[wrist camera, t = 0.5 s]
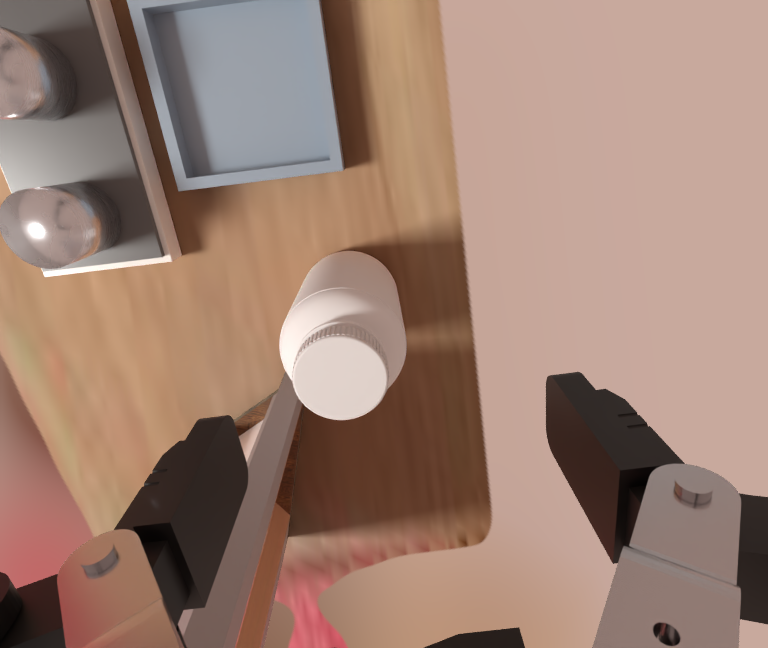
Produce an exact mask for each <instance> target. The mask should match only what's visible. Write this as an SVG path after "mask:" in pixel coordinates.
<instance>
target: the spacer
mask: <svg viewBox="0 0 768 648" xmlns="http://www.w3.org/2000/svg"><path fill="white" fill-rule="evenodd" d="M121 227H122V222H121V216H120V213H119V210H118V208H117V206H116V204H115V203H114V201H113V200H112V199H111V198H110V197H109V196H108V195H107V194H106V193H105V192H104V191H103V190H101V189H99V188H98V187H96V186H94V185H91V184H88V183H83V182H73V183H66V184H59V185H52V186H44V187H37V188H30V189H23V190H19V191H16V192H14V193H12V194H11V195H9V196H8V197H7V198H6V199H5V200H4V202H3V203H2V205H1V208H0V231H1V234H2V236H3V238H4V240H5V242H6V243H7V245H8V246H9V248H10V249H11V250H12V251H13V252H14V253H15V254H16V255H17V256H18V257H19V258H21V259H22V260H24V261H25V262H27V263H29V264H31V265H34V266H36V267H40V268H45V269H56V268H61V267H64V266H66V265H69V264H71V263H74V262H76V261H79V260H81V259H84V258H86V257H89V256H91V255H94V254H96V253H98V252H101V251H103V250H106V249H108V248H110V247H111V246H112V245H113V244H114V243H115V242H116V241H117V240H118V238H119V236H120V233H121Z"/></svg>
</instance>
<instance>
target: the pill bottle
mask: <svg viewBox="0 0 768 648" xmlns="http://www.w3.org/2000/svg"><path fill="white" fill-rule="evenodd" d="M406 351H407V341H406V334H405V328H404V323H403V318H402V312H401V307H400V302H399V296H398V291H397V287H396V284H395V281H394V279H393V277H392V275H391V274H390V272H389V271H388V269H387V268H386V267H385V266H384V265H383V264H382V263H381V262H380V261H378V260H377V259H375V258H374V257H372V256H370V255H368V254H365V253H362V252H357V251H341V252H336V253H333V254H331V255H328V256H326V257H325V258H323V259H321V260H320V261H319V262H318V263H316V264H315V265H314V266H313V267H312V269H311V270H310V271H309V273H308V274H307V276H306V278H305V280H304V282H303V284H302V286H301V288H300V290H299V292H298V294H297V296H296V298H295V300H294V303H293V305H292V307H291V309H290V311H289V313H288V315H287V317H286V319H285V321H284V324H283V327H282V330H281V334H280V355H281V359H282V362H283V365H284V368H285V370H286V372H287V374H288V376H289V377H290V379H291V380H292V383H293V387H294V388H295V389H294V390H295V392H296V395H297V396H298V398H299V400H301V402H302V403H303V404H304V405H305V406H306V407H307V408H308V409H309V410H311V411H312V412H314V413H315V414H317V415H319V416H322V417H325V418H328V419H333V420H349V419H354V418H358V417H360V416H363V415H365V414H367V413H368V412H370V411H371V410H373V409H374V408H375V407H376V406H377V405H378V404H379V403H380V402H381V400H382V399H383V397H384V396H385V393H386V392H387V389H388V388H389V387H390V386H391V385H392V384H393V382H394V381H395V380H396V378H397V377H398V375H399V373H400V372H401V370H402V367H403V365H404V362H405V358H406Z"/></svg>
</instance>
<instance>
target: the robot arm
mask: <svg viewBox="0 0 768 648" xmlns="http://www.w3.org/2000/svg"><path fill="white" fill-rule="evenodd" d="M546 432H547V438H548V443H549V446H550V449H551V451H552V454H553V455H554V458H555V459H556V461H557V463H558V465H559V467H560V468H561V470H562V472H563V474H564V476H565V478H566V479H567V481H568V483H569V485H570V487H571V488H572V490H573V492H574V494H575V496H576V497H577V499H578V501H579V503H580V505H581V507H582V508H583V510H584V512H585V514H586V515H587V517H588V519H589V521H590V523H591V524H592V526H593V528H594V530H595V532H596V534H597V535H598V537H599V539H600V541H601V543H602V544H603V546H604V548H605V550H606V552H607V554H608V556H609V557H610V559H611V561H612V563H613V564H614V563H618V565H617V568H616V572H615V575H614V579H613V581H612V585H611V588H610V591H609V595H608V598H607V601H606V605H605V608H604V611H603V615H602V618H601V621H600V624H599V628H598V631H597V635H596V638H595V641H594V644H593V647H592V648H738V646H739V625H740V619H743V620H748V621H753V622H759V623H764V624H768V497H761V496H752V495H745V494H740V493H738V491H737V490H736V488H735V487H734V486H733V485H732V484H731V483H730V482H728V481H727V480H725V479H724V478H723V477H721V476H720V475H718V474H716V473H714V472H712V471H710V470H707V469H704V468H701V467H698V466H693V465H688V464H685V463H684V462H683V461H682V460H681V459H680V458H679V457H678V456H677V455H676V454H675V453H674V452H673V451H672V450H671V448H670V447H669V446H668V445H667V444H666V443H665V442H664V441H663V440H662V439H661V438H660V437H659V436H658V434H657V433H656V432H655V431H654V430H653V429H652V428H651V427H650V426H649V427H648V425H647V423H646V422H645V421H644V419H643V418H642V417H641V416H640V415H637V412H636V411H635V410H634V409H633V408H632V407H631V406H630V405H629V403H628V402H627V401H626V400H625V399H623V398H621V397H619V396H618V395H616V394H614V393H612V392H610V391H608V390H606V389H601V390H595V388H594V387H593V386H592V385H591V384H590V383H589V381H588V380H587V379H586V378H585V377H584V376H583V374H582V373H580V372H575V373H567V374H559V375H551V376H548V377H547V381H546ZM247 486H248V466H247V462H246V459H245V456H244V452H243V449H242V446H241V442H240V439H239V436H238V433H237V429H236V426H235V423H234V420H233V419H232V417H231V416H229V415H227V416H219V417H211V418H203V419H199V420H198V421H197V422H196V423H195V425H194V427H193V428H192V430H191V432H190V433H189V435H188V437H187V438H186V440H184V441H179V442H178V443H176V444H175V445H174V446H173V447H172V448H171V449H169V450H168V451H167V452H166V453H165V454H164V455H162V457H161V458H160V460H159V461H158V463H157V465H156V466H155V468H154V469H153V473H152V474H150V475H149V477H148V478H147V480H146V481H145V483H144V487H142V488H141V489H140V491H139V492H138V494H137V495H136V497H135V498H134V500H133V501H132V503H131V504H130V506H129V508H128V509H127V511H126V512H125V514H124V515H123V517H122V518H121V520H120V521H119V523H118V524H117V526H116V527H115V529H114V530H113V531H109V532H106V533H103V534H101V535H99V536H97V537H94V538H93V539H91V540H89V541H88V542H86V543H85V544H83V545H82V546H80V547H79V548H78V549H77V550H75V551H74V552H73V553H72V554H71V555H70V556H69V557H68V559H67V560H66V561H65V562H64V564H63V565H62V566H61V568H60V570H59V573H58V574H56V575H53V576H51V577H48V578H45V579H43V580H39V581H37V582H34V583H31V584H28V585H26V586H23V587H20V588H17V589H16V588H15V587H14V585H13V584H12V582H11V580H10V579H9V577H8V576H7V575H6V574H4V573H1V572H0V648H188V647H187V645H186V642H185V640H184V637H183V635H182V632H181V630H180V628H179V626H178V623H179V620H180V618H181V615H182V613H183V610H189V609H197V608H205V606H206V603H207V600H208V597H209V594H210V592H211V589H212V586H213V583H214V580H215V578H216V575H217V572H218V569H219V566H220V564H221V561H222V558H223V555H224V552H225V549H226V547H227V544H228V541H229V538H230V535H231V533H232V530H233V527H234V524H235V521H236V518H237V516H238V513H239V510H240V507H241V504H242V502H243V499H244V496H245V493H246V490H247ZM425 648H525V646H524V643H523V639H522V636H521V633H520V629H519V628H510V629H501V630H492V631H483V632H473V633H464V634H458V635H455V636H453V637H450V638H447V639H445V640H442V641H440V642H437V643H435V644H432V645H430V646H427V647H425Z"/></svg>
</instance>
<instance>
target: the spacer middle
mask: <svg viewBox="0 0 768 648" xmlns="http://www.w3.org/2000/svg"><path fill="white" fill-rule="evenodd" d="M77 94H78V85H77V79H76V76H75V73H74V70H73V68H72V66H71V64H70V63H69V61H68V60H67V58H66V57H65V56H64V54H63V53H62V52H61V51H60V50H59V49H57V48H56V47H55V46H54V45H52V44H51V43H49V42H47V41H45V40H43V39H40V38H37V37H34V36H31V35H28V34H24V33H21V32H18V31H14V30H11V29H8V28H4V27H1V26H0V119H10V120H29V121H47V122H49V121H56V120H59V119H62V118H63V117H65V116H66V115H68V114H69V113H70V112H71V110H72V109H73V107H74V105H75V103H76V100H77Z"/></svg>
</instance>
